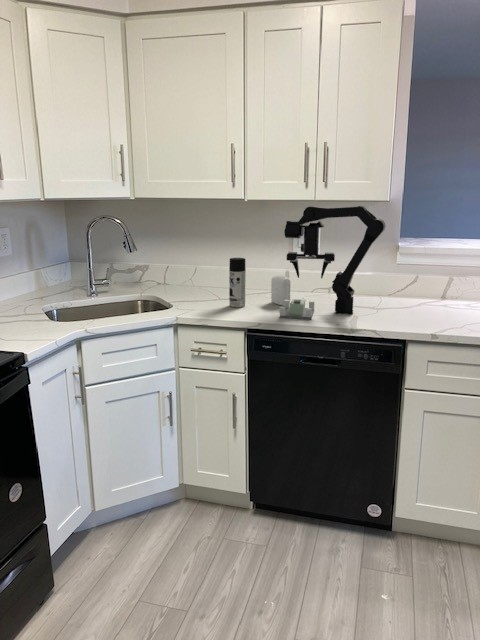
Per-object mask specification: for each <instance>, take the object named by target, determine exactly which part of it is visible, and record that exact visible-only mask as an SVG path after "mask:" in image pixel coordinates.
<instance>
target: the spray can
mask: <svg viewBox="0 0 480 640" xmlns="http://www.w3.org/2000/svg"><path fill="white" fill-rule="evenodd" d="M246 267H247V266H246V258H245V257H230V258H229V267H228V268H229V283H228V284H229V285H228V286H229V288H228V289H229V293H228V295H229V303H228V304H229V307H231V308H235V309H240V308H245V306H246Z"/></svg>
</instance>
